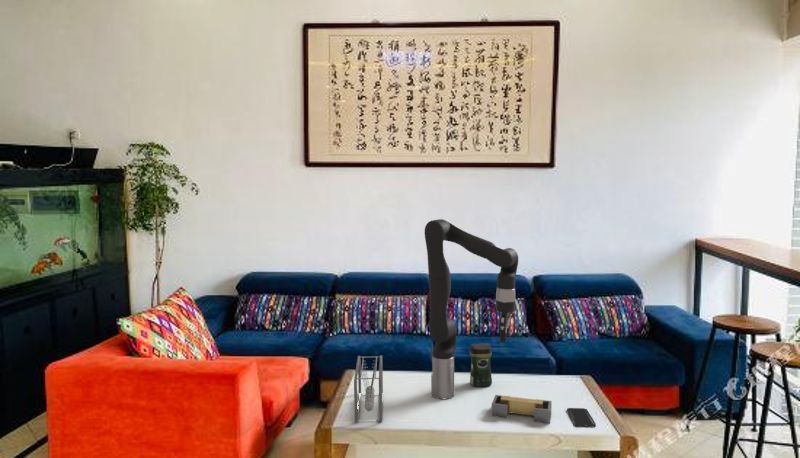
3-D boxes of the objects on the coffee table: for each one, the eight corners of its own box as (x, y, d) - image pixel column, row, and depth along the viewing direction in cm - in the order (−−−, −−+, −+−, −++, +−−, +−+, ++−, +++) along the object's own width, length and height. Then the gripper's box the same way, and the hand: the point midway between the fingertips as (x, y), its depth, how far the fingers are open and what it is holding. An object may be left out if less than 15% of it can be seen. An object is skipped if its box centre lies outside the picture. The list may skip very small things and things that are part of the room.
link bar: (500, 411, 221) (500, 399, 221) (501, 407, 225) (501, 395, 224) (542, 416, 216) (542, 403, 216) (542, 412, 220) (543, 400, 219)
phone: (586, 408, 224) (596, 425, 209) (586, 411, 224) (596, 427, 209) (566, 408, 225) (574, 424, 210) (566, 410, 225) (574, 427, 210)
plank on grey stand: (491, 416, 219) (491, 404, 219) (495, 406, 228) (495, 394, 228) (549, 423, 212) (550, 410, 212) (551, 413, 221) (551, 401, 221)
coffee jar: (489, 380, 257) (489, 340, 255) (493, 386, 249) (493, 346, 248) (468, 381, 256) (468, 341, 255) (472, 387, 249) (472, 347, 247)
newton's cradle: (358, 394, 243) (357, 354, 242) (382, 393, 244) (382, 353, 242) (354, 425, 214) (353, 379, 212) (382, 424, 214) (381, 379, 212)
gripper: (498, 294, 230) (497, 333, 232) (493, 302, 216) (492, 343, 218) (517, 295, 228) (516, 335, 229) (513, 303, 214) (511, 345, 216)
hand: (504, 339), depth 224 cm, fingers open, 8 cm apart
